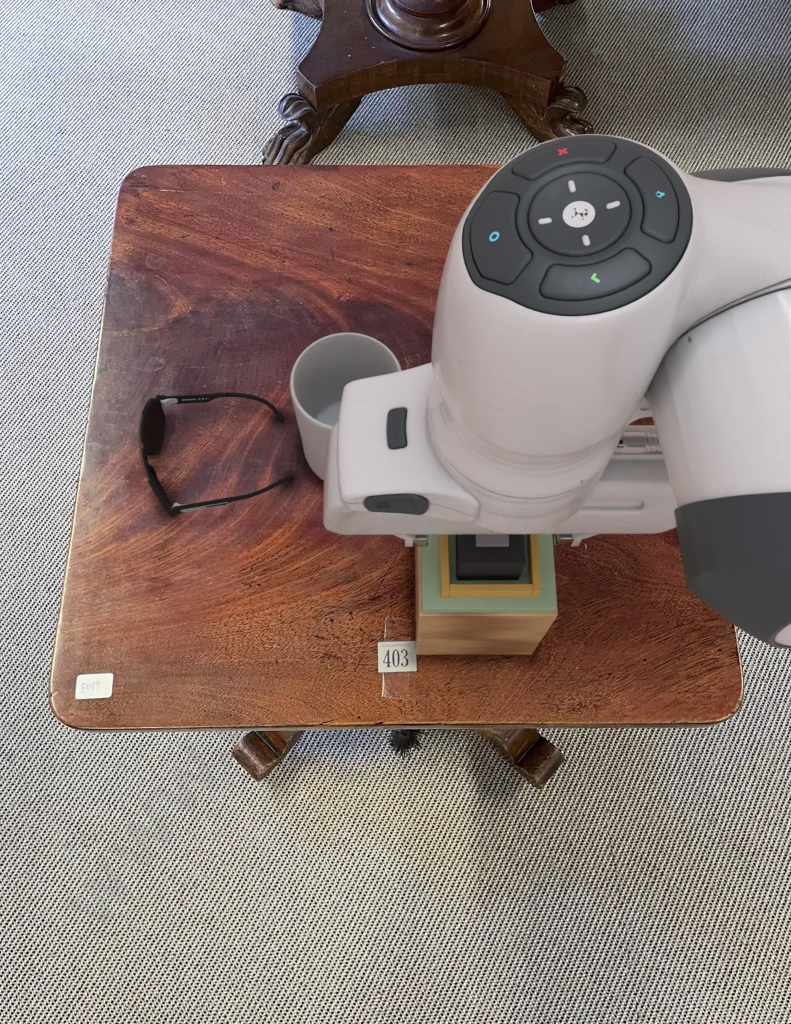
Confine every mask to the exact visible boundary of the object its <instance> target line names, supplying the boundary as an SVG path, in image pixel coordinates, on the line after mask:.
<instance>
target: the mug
mask: <svg viewBox="0 0 791 1024" xmlns="http://www.w3.org/2000/svg"><path fill="white" fill-rule="evenodd" d="M399 371H403V370H402V366H401V365H400V362H399V360H398V359H397V357H396V355H395V354H394V352H393V351H392V350H391V349H390V348H388V346H387V345H386V344H384V343H383V342H382V341H380V340H378V339H376V338H374V337H372V336H369V335H367V334H363V333H358V332H338V333H337V332H336V333H332V334H329V335H326V336H323V337H321V338H319V339H317V340H315V341H314V342H312V343H310V344H309V345H308V346H307V347H306V348H304V350H303V351H302V352H301V353H300V354H299V356H298V357H297V359H296V360H295V362H294V364H293V366H292V369H291V372H290V378H289V391H290V397H291V401H292V405H293V409H294V413H295V418H296V422H297V426H298V430H299V434H300V438H301V444H302V448H303V453H304V457H305V460H306V462H307V464H308V466H309V467H310V469H311V470H312V472H313V473H314V475H316V476H317V477H318V478H319V479H320V480H322V481H323V482H324V471H325V455H326V447H327V442H328V438H329V434H330V432H331V430H332V428H333V427H334V426H335V425H336V424H337V423H338V420H339V412H340V405H341V399H342V394H343V389H344V387H345V385H347V384H348V383H350V382H352V381H355V380H359V379H364V378H369V377H375V376H380V375H385V374H390V373H395V372H399Z"/></svg>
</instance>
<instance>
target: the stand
mask: <svg viewBox="0 0 791 1024" xmlns="http://www.w3.org/2000/svg"><path fill="white" fill-rule="evenodd" d="M552 542H553V543H554V538H552ZM553 556H554V557H555V554H554V552H553ZM555 567H556V566H554V570H555V569H556V568H555ZM414 568H415V569H414V570H415V571H414V574H415V575H414V577H415V578H414V583H415V584H414V585H415V586H414V587H415V588H414V589H415V590H414V591H415V655H416V656H418V655H419V656H423V655H424V656H427V655H428V656H430V655H431V656H433V655H436V656H437V655H438V656H439V655H441V656H443V655H444V656H445V655H455V656H456V655H457V656H458V655H459V656H460V655H461V656H462V655H463V656H464V655H465V656H467V655H468V656H469V655H470V656H472V655H477V656H478V655H479V656H480V655H483V656H484V655H486V656H487V655H489V656H490V655H495V656H497V655H533V654H534V652H535V650H536V649H537V647H538V646H539V644H540V643H541V641H542V640H543V639H544V637H545V635H546V634H547V633H548V631H549V630H550V627H552V625H553V624H554V622H555V620H556V619H557V617H558V616H559V611H558V610H559V609H558V608H557V609H556V611H555V612H422V570H421V547H414ZM555 571H556V570H555ZM556 582H557V581H556V580H555V584H556ZM556 598H557V599H558V595H557V594H556Z"/></svg>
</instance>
